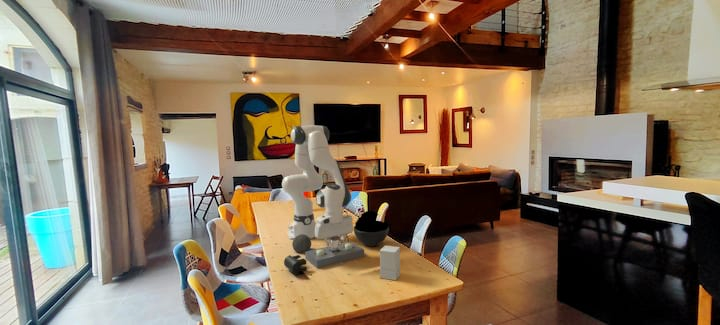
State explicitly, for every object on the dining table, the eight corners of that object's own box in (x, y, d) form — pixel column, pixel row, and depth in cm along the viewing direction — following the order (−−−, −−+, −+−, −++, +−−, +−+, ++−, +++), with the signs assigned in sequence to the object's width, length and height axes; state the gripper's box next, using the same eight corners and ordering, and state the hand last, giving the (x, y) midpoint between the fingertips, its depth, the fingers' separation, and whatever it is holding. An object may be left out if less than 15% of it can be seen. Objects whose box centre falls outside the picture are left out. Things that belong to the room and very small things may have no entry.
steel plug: (329, 257, 166) (328, 236, 165) (336, 255, 168) (336, 235, 167) (333, 260, 162) (332, 238, 161) (341, 258, 164) (340, 237, 163)
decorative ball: (297, 249, 182) (296, 231, 181) (314, 250, 180) (313, 232, 179) (289, 255, 172) (288, 237, 171) (307, 256, 170) (307, 238, 169)
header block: (305, 261, 164) (305, 248, 163) (350, 250, 178) (350, 239, 177) (317, 271, 152) (316, 257, 152) (364, 259, 166) (364, 246, 165)
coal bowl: (381, 237, 200) (380, 207, 198) (394, 248, 181) (394, 214, 179) (349, 241, 194) (349, 210, 192) (360, 252, 175) (359, 218, 173)
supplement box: (400, 274, 148) (400, 246, 147) (395, 280, 141) (395, 252, 140) (385, 271, 151) (385, 244, 150) (379, 278, 144) (379, 250, 143)
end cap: (284, 270, 154) (283, 256, 153) (298, 266, 158) (297, 253, 157) (292, 277, 145) (292, 263, 145) (307, 273, 150) (306, 259, 149)
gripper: (349, 213, 171) (349, 238, 172) (312, 218, 160) (313, 246, 162) (355, 215, 166) (355, 242, 167) (318, 221, 155) (319, 250, 156)
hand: (334, 244), depth 164 cm, fingers open, 7 cm apart
